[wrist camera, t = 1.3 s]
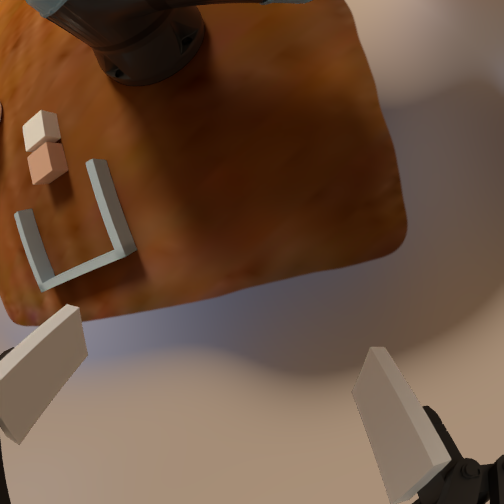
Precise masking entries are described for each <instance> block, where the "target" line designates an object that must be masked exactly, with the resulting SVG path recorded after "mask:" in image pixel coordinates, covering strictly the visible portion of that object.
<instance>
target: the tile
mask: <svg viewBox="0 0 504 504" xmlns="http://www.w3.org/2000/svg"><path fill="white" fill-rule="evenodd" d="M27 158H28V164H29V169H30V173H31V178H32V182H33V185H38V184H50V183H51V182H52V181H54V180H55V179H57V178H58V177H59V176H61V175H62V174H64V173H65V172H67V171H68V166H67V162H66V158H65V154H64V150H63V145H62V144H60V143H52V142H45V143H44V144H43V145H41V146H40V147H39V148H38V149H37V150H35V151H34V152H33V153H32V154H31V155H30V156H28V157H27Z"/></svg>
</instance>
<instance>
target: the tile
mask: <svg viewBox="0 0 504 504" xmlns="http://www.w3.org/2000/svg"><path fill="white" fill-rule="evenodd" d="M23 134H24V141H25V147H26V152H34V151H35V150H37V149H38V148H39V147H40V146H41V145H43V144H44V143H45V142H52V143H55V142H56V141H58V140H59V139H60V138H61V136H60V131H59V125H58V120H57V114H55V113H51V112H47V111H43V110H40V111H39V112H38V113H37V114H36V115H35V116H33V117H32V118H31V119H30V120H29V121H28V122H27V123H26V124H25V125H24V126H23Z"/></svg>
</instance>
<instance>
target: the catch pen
mask: <svg viewBox="0 0 504 504" xmlns="http://www.w3.org/2000/svg"><path fill="white" fill-rule="evenodd" d="M86 166H87V170H88V174H89V177H90V180H91V184H92V187H93V190H94V193H95V197H96V200H97V203H98V206H99V209H100V212H101V215H102V217H103V220H104V223H105V226H106V229H107V231H108V234H109V237H110V239H111V242H112V244H113V247H114V250H112V251H110V252H108V253H105V254H103V255H101V256H99V257H96V258H94V259H92V260H90V261H87V262H85V263H83V264H81V265H79V266H76V267H74V268H72V269H70V270H68V271H66V272H63V273H61V274H59V275H57V276H55V275H54V272H53V270H52V267H51V265H50V262H49V259H48V257H47V254H46V251H45V249H44V246H43V243H42V240H41V237H40V234H39V231H38V228H37V225H36V221H35V218H34V215H33V211H32V209H27V210H22V211H18V212H16V213H15V214H14V216H15V220H16V223H17V227H18V230H19V233H20V237H21V240H22V243H23V246H24V249H25V252H26V255H27V257H28V260H29V263H30V266H31V268H32V271H33V273H34V276H35V278H36V281H37V283H38V286H39V288H40V290H41V292H44V291H46V290H48V289H50V288H52V287H55V286H57V285H59V284H62V283H64V282H66V281H68V280H71V279H73V278H75V277H78V276H80V275H82V274H85V273H87V272H89V271H92V270H94V269H97V268H99V267H101V266H104V265H106V264H109V263H111V262H114V261H116V260H118V259H121V258H123V257H126V256H128V255H129V254H131V253H133V252H134V251H136V250H137V248H136V246H135V243H134V241H133V238H132V235H131V233H130V230H129V227H128V225H127V222H126V219H125V217H124V214H123V211H122V208H121V205H120V202H119V199H118V196H117V193H116V190H115V187H114V184H113V181H112V178H111V175H110V171H109V168H108V165H107V161H106V160H101V159H91V160H89V161H88V162H86Z"/></svg>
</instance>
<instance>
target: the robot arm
mask: <svg viewBox="0 0 504 504" xmlns="http://www.w3.org/2000/svg"><path fill="white" fill-rule="evenodd" d="M310 1H312V0H26V2H27V3H28V4H29V5H30V6H32V7H33V8H34V9H36V10H37V11H38V12H40V15H41V16H42V17H44V18H46V19H48V20H50V21H51V22H53V23H55V24H56V25H58V26H60V27H61V28H63V29H64V30H66V31H68V32H69V33H71V34H72V35H74V36H75V37H77V38H78V39H80V40H82V41H83V42H85V43H86V44H88V45H89V46H90V47H92V49H93V51H94V53H95V56H96V58H97V60H98V63H99V65H100V67H101V69H102V70H103V71H104V72H105V73H106V74H107V75H108V76H109V77H111V78H112V79H114V80H115V81H117V82H119V83H121V84H124V85H128V86H144V85H149V84H153V83H156V82H159V81H161V80H164V79H166V78H168V77H169V76H171V75H173V74H175V73H176V72H177V71H179V70H180V69H181V68H183V67H184V66H185V65H186V64H187V63H188V62H189V61H190V60H191V59H192V58H193V57H194V55H195V54H196V53H197V51H198V49H199V48H200V46H201V44H202V41H203V38H204V31H205V27H204V22H203V19H202V16H201V14H200V11H199V10H198V8H197V7H196V5H207V4H223V3H260V4H261V5H266V4H270V3H296V4H301V3H307V2H310ZM87 356H88V352H87V348H86V343H85V339H84V333H83V328H82V322H81V316H80V310H79V307H75V306H72V305H68V304H67V305H65V306H64V307H63V308H62V309H60V310H59V311H58V312H57V313H55V314H54V315H53V316H52V317H50V318H49V319H48V320H47V321H45V322H44V323H43V324H42V325H41V326H39V327H38V328H37V329H36V330H35V331H33V332H32V333H31V334H30V335H29V336H28V337H26V338H25V339H24V340H23V341H22V342H21V343H20V344H18V345H17V346H16V347H13V348H11V349H8V350H6V351H4V352H3V353H2V354H1V355H0V427H1V429H2V430H3V432H4V433H5V435H6V436H7V437H9V438H10V439H11V440H13V441H14V442H15V443H17V444H18V445H20V444H21V442H22V441H23V439H24V438H25V437H26V435H27V434H28V432H29V431H30V429H31V428H32V427H33V425H34V424H35V423H36V421H37V420H38V418H39V417H40V416H41V414H42V413H43V412H44V410H45V409H46V408H47V406H48V405H49V404H50V402H51V401H52V400H53V398H54V397H55V396H56V395H57V393H58V392H59V391H60V389H61V388H62V387H63V386H64V384H65V383H66V382H67V381H68V379H69V378H70V377H71V376H72V374H73V373H74V372H75V371H76V369H77V368H78V367H79V366H80V364H81V363H82V362H83V361H84V359H85V358H86V357H87ZM352 394H353V397H354V399H355V402H356V405H357V408H358V410H359V413H360V415H361V418H362V421H363V424H364V427H365V429H366V432H367V435H368V438H369V441H370V444H371V446H372V449H373V452H374V455H375V458H376V461H377V464H378V467H379V470H380V473H381V476H382V479H383V482H384V485H385V488H386V491H387V495H388V498H389V501H390V504H397V503H401V502H404V501H407V500H409V499H410V498H411V497H413V496H414V495H415V494H416V493H418V496H419V499H417V500H416V501H415V502H414V503H412V504H485V503H486V502H487V501H489V500H490V504H504V455H502V456H501V457H500V458H499V459H498V460H496V462H495V463H494V464H487V465H480V464H479V463H478V462H477V461H475V460H473V459H469V458H465V459H464V458H463V457H462V455H461V454H460V452H459V450H458V448H457V447H456V445H455V443H454V441H453V440H452V438H451V436H450V434H449V433H448V431H446V428H445V426H444V424H442V421H441V419H440V418H439V416H438V414H437V413H436V412H435V411H434V410H432V409H431V408H430V407H429V406H423V407H422V406H421V404H420V403H419V401H418V399H417V397H416V396H415V394H414V392H413V391H412V389H411V387H410V386H409V384H408V383H407V381H406V380H405V378H404V376H403V375H402V373H401V371H400V370H399V368H398V367H397V365H396V364H395V362H394V360H393V359H392V357H391V356H390V354H389V353H388V351H387V350H386V348H385V347H370V348H369V351H368V354H367V356H366V359H365V361H364V364H363V366H362V369H361V371H360V374H359V376H358V379H357V381H356V383H355V385H354V388H353V390H352ZM0 504H11V502H10V498H9V494H8V489H7V484H6V479H5V473H4V467H3V460H2V452H1V441H0Z"/></svg>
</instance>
